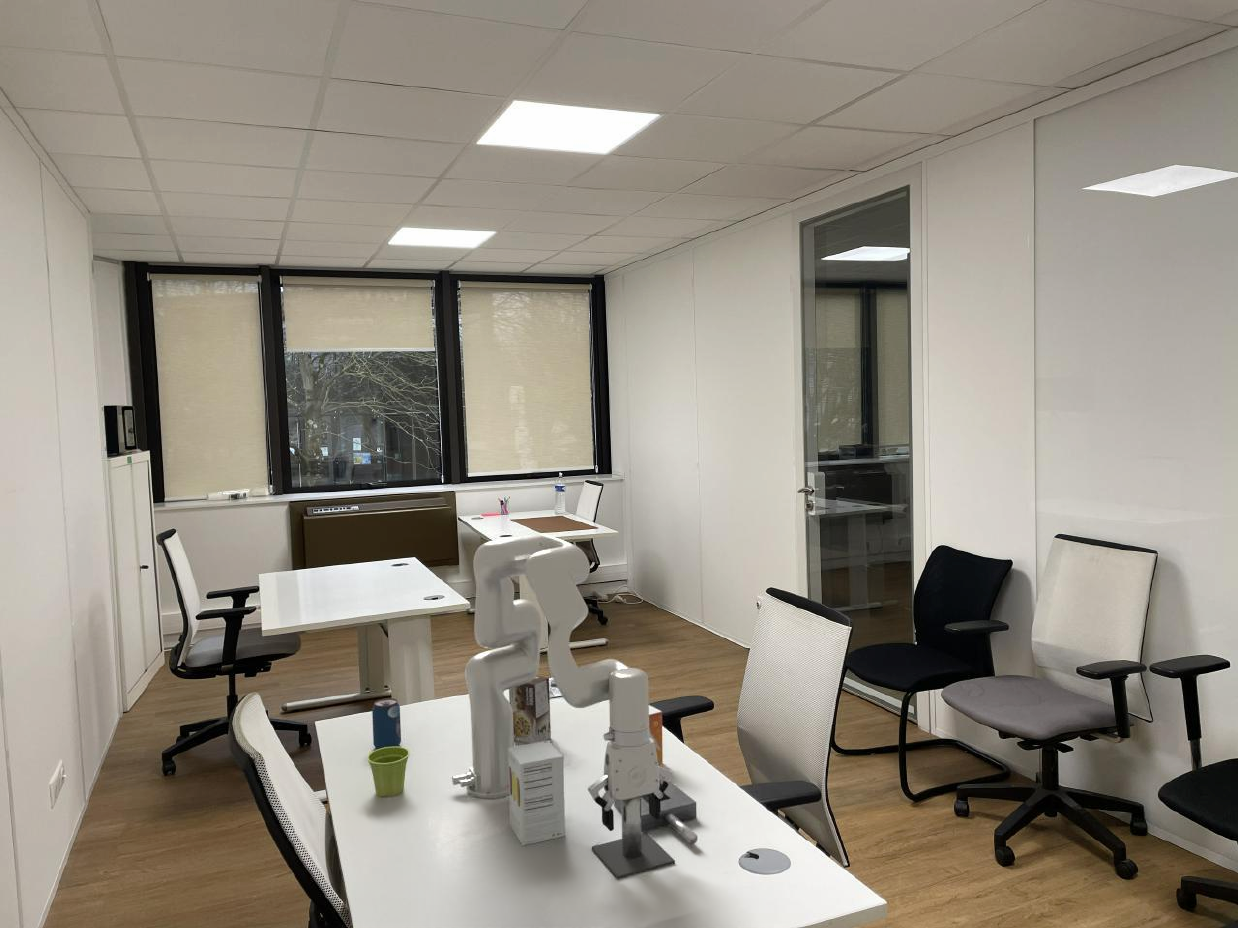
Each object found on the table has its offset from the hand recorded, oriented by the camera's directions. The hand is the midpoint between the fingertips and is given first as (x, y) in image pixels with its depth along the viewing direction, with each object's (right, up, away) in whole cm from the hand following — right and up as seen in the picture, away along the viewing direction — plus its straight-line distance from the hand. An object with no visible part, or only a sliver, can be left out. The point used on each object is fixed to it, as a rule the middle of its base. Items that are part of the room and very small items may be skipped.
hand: (631, 821), depth 163 cm
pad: (0, -7, 0) cm, 7 cm away
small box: (+3, -4, +44) cm, 44 cm away
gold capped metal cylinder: (0, -6, 0) cm, 6 cm away
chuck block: (+7, -6, +14) cm, 16 cm away
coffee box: (-26, -4, +61) cm, 66 cm away
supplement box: (-19, -7, +11) cm, 23 cm away
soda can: (-63, -5, +57) cm, 85 cm away
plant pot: (-55, -6, +31) cm, 63 cm away
